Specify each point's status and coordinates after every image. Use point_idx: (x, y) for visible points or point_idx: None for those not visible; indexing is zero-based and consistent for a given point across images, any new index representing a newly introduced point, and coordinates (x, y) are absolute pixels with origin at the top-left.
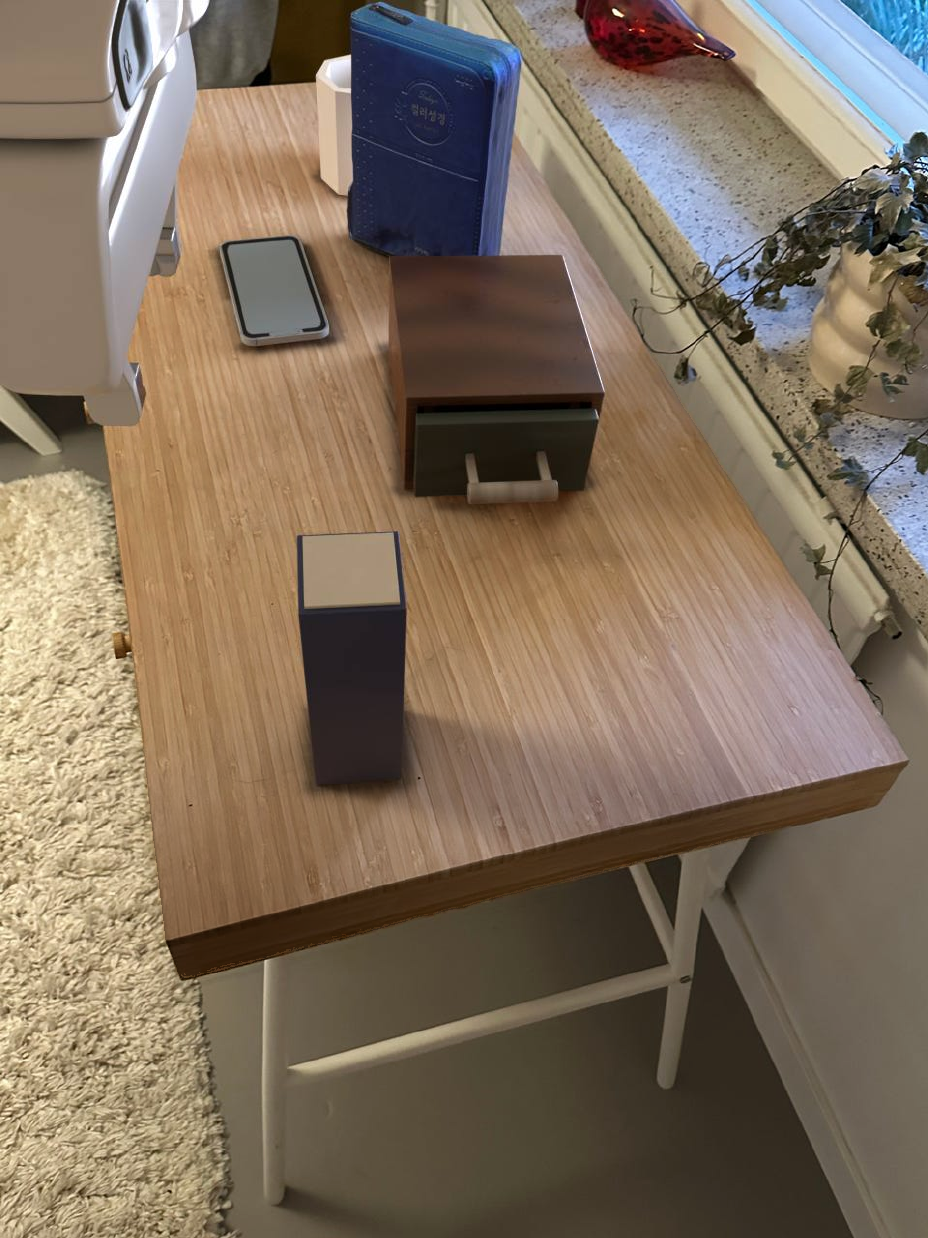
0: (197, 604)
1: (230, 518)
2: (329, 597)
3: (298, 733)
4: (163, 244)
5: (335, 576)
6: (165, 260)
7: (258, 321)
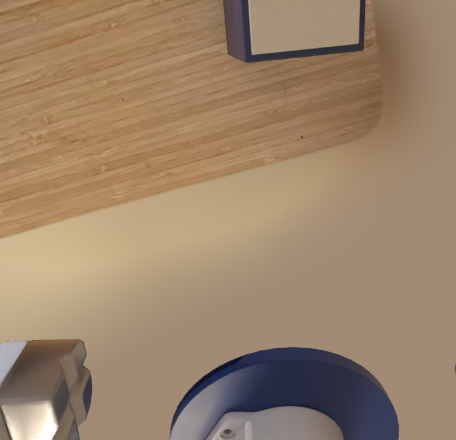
0: (130, 158)
1: (35, 145)
2: (347, 13)
3: (246, 65)
4: (59, 403)
5: (316, 7)
6: (72, 373)
7: None
